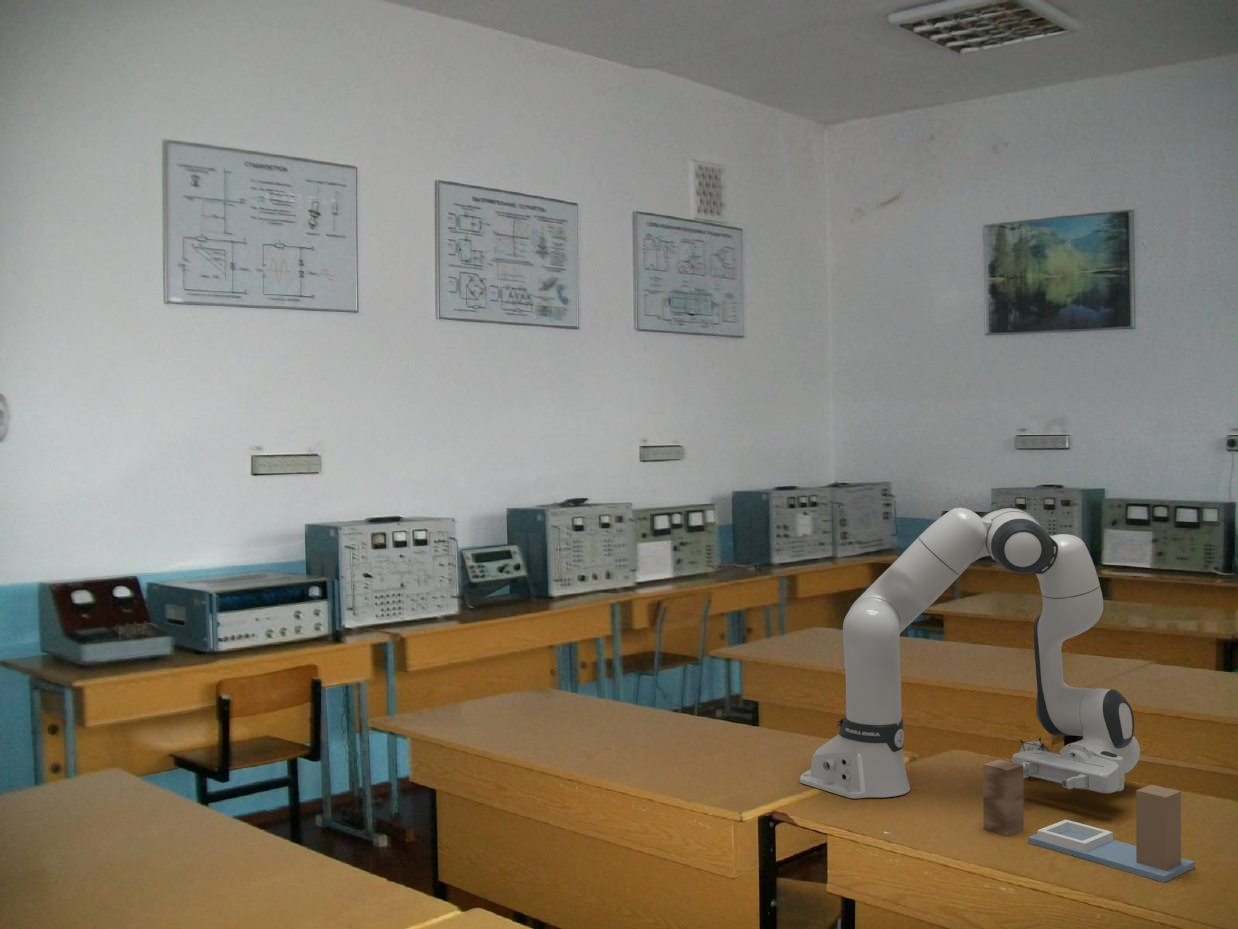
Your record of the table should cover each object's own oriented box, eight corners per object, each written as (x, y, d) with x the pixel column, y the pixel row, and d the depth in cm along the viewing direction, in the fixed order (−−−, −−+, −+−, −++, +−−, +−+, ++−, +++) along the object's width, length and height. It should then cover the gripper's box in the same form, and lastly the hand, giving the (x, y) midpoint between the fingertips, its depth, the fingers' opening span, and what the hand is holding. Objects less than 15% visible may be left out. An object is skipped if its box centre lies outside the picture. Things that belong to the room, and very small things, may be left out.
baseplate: (1028, 843, 210) (1027, 769, 210) (1059, 830, 216) (1059, 759, 216) (1164, 882, 191) (1164, 802, 191) (1194, 867, 197) (1194, 789, 197)
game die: (1026, 795, 250) (996, 756, 251) (1042, 772, 256) (1012, 735, 257) (1058, 783, 243) (1027, 743, 245) (1073, 760, 249) (1043, 721, 250)
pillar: (983, 829, 218) (983, 764, 217) (999, 823, 221) (999, 759, 220) (1007, 836, 214) (1007, 770, 213) (1023, 830, 217) (1023, 765, 217)
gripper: (1034, 739, 241) (994, 751, 233) (1131, 759, 225) (1091, 773, 217) (1034, 770, 241) (994, 783, 233) (1131, 792, 225) (1092, 807, 217)
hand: (1042, 778), depth 225 cm, fingers open, 8 cm apart
